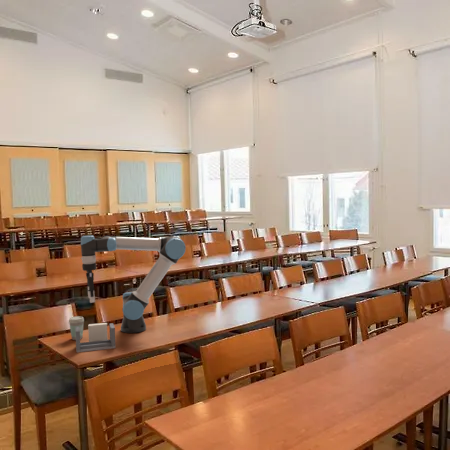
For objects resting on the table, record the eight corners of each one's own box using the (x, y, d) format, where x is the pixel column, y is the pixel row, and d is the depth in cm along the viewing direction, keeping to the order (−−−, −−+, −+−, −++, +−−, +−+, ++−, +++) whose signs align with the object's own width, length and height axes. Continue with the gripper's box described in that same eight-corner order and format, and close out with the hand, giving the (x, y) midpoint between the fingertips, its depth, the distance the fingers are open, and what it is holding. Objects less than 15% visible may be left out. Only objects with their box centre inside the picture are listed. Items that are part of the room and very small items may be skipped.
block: (107, 340, 273) (106, 322, 273) (107, 341, 270) (107, 324, 270) (88, 342, 270) (88, 324, 269) (89, 343, 267) (88, 325, 267)
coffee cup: (80, 341, 272) (79, 320, 271) (66, 340, 274) (65, 319, 273) (87, 336, 281) (86, 316, 280) (74, 335, 282) (73, 315, 281)
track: (113, 342, 268) (113, 323, 267) (115, 348, 259) (114, 327, 258) (76, 346, 262) (75, 326, 261) (76, 352, 252) (75, 331, 252)
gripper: (81, 260, 283) (83, 296, 285) (83, 266, 260) (86, 305, 261) (94, 259, 286) (96, 294, 287) (97, 265, 262) (100, 303, 264)
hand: (91, 300), depth 274 cm, fingers open, 13 cm apart
